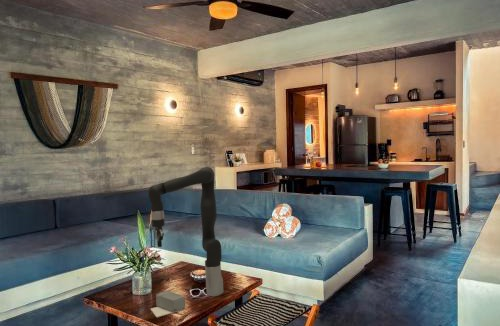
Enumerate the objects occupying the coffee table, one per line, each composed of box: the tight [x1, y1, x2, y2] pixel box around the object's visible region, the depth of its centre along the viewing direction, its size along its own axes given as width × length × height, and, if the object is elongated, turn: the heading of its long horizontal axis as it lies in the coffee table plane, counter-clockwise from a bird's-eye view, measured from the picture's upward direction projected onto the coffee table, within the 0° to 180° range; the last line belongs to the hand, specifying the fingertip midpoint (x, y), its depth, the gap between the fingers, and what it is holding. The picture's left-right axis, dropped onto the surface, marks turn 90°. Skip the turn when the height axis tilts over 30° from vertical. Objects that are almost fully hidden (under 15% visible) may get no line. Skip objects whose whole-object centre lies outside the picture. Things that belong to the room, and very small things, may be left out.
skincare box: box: [155, 290, 186, 313], centre depth 210 cm, size 8×7×16 cm
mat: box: [150, 306, 183, 318], centre depth 208 cm, size 14×12×1 cm
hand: (159, 246), depth 228 cm, fingers closed
